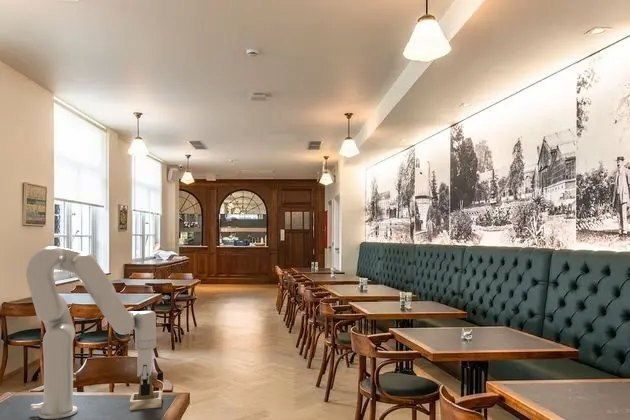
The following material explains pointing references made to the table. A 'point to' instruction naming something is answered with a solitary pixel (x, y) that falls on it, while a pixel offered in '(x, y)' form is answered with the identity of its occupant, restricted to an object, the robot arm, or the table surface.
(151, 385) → the cork
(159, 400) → the beige square frame
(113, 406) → the table surface
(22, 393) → the table surface
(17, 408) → the table surface
